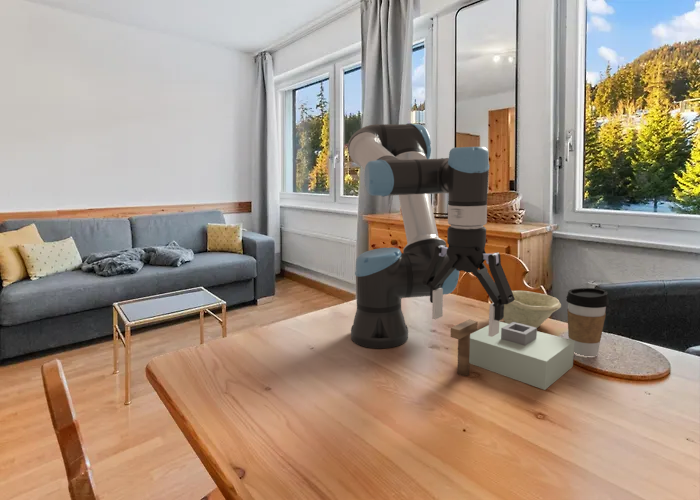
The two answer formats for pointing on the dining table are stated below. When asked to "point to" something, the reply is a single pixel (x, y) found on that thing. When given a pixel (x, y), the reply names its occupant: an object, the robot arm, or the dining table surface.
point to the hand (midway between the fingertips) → (463, 325)
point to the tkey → (464, 344)
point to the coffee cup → (586, 318)
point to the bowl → (530, 308)
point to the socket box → (522, 353)
